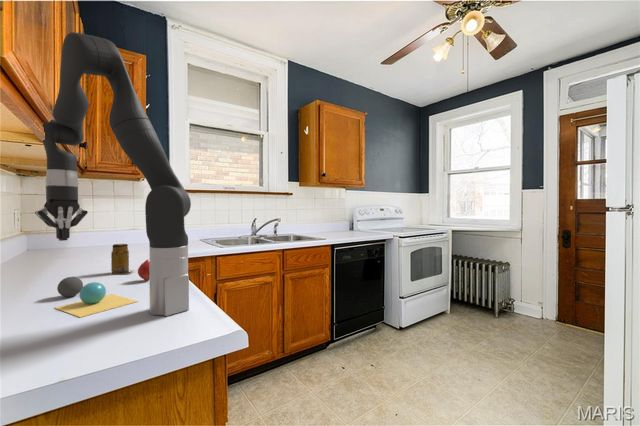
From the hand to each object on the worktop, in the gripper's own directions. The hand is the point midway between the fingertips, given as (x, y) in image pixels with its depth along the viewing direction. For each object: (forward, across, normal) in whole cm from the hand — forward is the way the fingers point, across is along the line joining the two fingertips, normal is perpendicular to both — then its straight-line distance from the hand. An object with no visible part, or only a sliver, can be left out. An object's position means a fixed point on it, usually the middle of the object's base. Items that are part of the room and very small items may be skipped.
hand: (62, 240), depth 91 cm
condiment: (+17, -26, -16) cm, 35 cm away
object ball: (+14, 0, +18) cm, 23 cm away
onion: (+17, -23, +6) cm, 29 cm away
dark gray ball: (+14, 0, +5) cm, 15 cm away
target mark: (+17, 0, +21) cm, 27 cm away
